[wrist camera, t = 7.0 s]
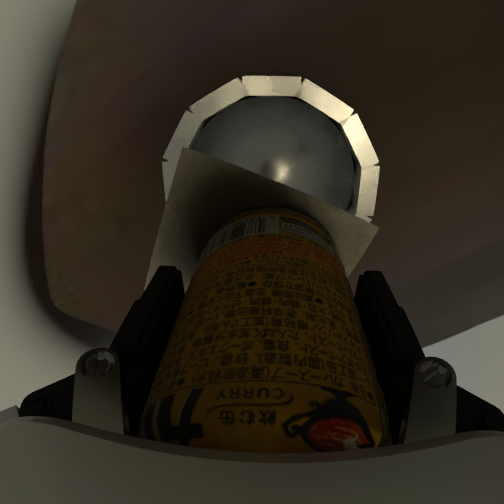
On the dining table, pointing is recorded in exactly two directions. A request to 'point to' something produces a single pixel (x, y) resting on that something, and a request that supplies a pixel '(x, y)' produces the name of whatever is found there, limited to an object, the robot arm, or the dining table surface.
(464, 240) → the dining table surface
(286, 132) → the faceted plate
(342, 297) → the condiment
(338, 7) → the dining table surface
